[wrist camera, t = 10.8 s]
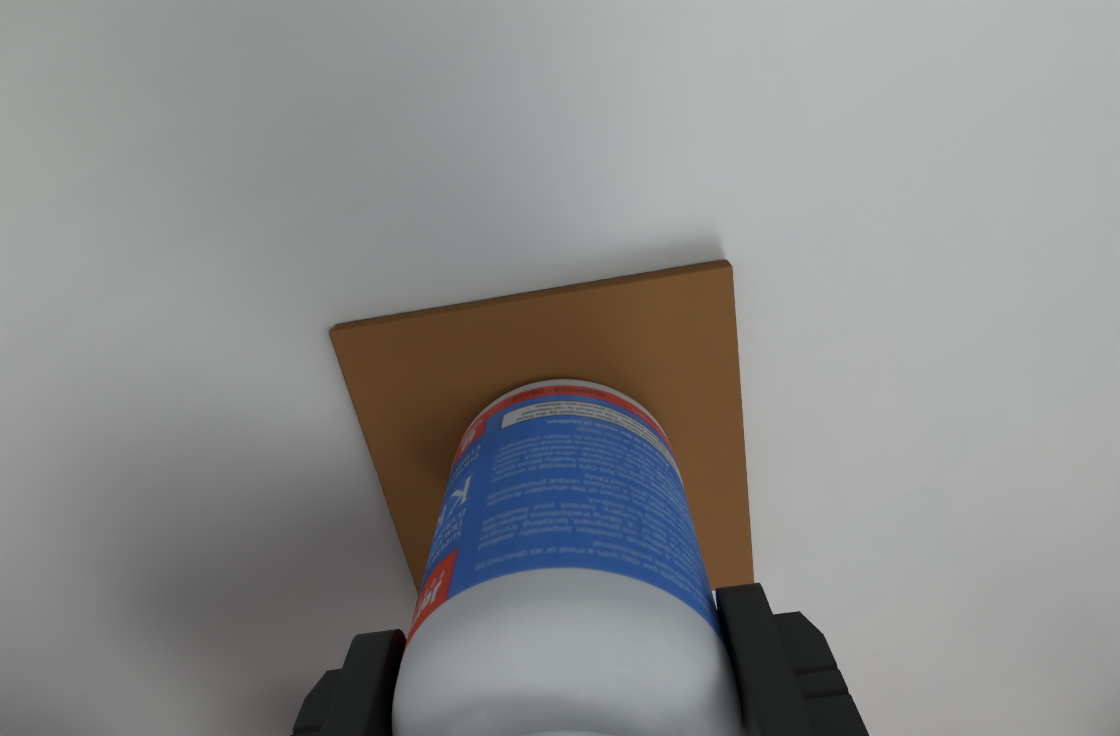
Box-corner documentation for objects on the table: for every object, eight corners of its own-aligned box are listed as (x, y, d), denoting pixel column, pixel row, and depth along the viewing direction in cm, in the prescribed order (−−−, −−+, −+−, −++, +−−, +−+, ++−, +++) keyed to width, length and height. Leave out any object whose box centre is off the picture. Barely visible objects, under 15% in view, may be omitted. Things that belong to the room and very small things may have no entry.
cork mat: (334, 324, 15) (327, 332, 15) (727, 258, 15) (732, 264, 14) (432, 615, 19) (429, 628, 19) (750, 573, 19) (754, 585, 18)
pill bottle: (441, 376, 15) (283, 805, 7) (677, 367, 15) (836, 790, 7) (465, 563, 18) (372, 1067, 9) (671, 556, 18) (781, 1059, 9)
